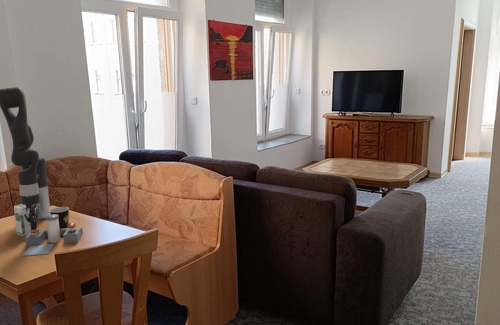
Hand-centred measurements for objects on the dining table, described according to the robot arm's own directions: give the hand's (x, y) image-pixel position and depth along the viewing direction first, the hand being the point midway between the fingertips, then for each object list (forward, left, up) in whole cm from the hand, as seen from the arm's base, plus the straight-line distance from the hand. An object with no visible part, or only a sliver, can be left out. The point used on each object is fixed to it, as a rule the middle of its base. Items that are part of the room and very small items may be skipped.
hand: (34, 229), depth 180 cm
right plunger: (0, +16, -2) cm, 16 cm away
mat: (+10, +4, -6) cm, 12 cm away
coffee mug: (-15, +6, -7) cm, 18 cm away
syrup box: (-12, -8, -7) cm, 16 cm away
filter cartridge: (0, +8, -7) cm, 10 cm away
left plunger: (0, 0, -4) cm, 4 cm away
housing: (-2, +8, -6) cm, 10 cm away
